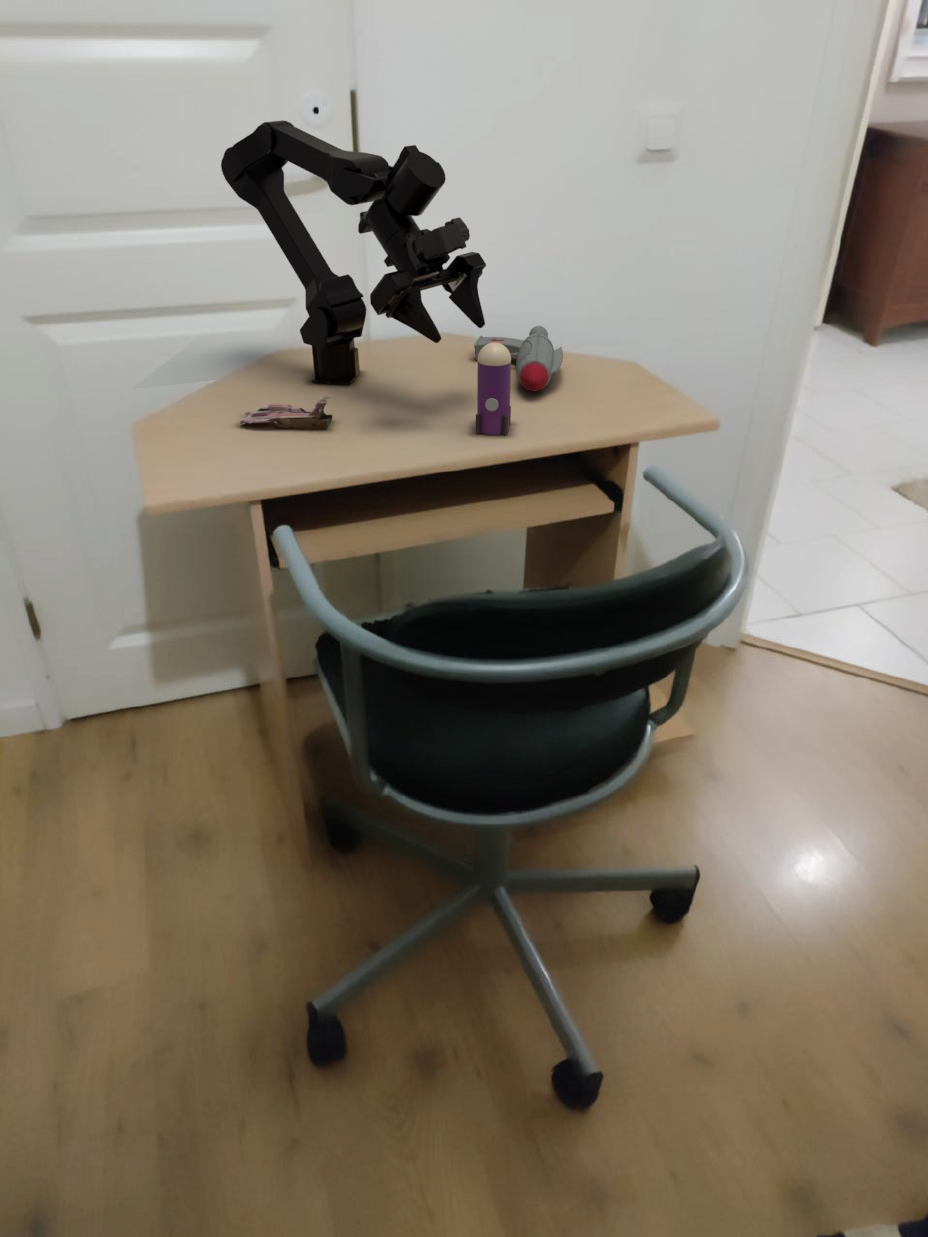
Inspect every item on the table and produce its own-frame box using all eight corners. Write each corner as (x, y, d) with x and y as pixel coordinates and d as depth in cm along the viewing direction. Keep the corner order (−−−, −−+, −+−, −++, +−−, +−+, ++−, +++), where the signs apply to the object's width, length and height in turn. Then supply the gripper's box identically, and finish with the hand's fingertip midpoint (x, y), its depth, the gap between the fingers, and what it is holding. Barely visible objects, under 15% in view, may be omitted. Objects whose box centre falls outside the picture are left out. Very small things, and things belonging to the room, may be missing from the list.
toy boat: (236, 429, 129) (232, 402, 127) (248, 414, 134) (244, 388, 131) (326, 433, 128) (323, 405, 125) (335, 418, 132) (333, 391, 130)
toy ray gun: (480, 358, 160) (564, 349, 158) (466, 408, 139) (563, 399, 137) (476, 324, 157) (562, 315, 155) (461, 370, 136) (560, 360, 134)
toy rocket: (475, 434, 127) (475, 347, 120) (479, 422, 131) (480, 337, 124) (507, 436, 127) (509, 349, 120) (510, 423, 131) (513, 338, 124)
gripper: (379, 208, 113) (446, 313, 113) (476, 189, 125) (536, 284, 125) (342, 264, 122) (404, 362, 122) (435, 242, 133) (492, 331, 134)
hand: (461, 333), depth 125 cm, fingers open, 9 cm apart
